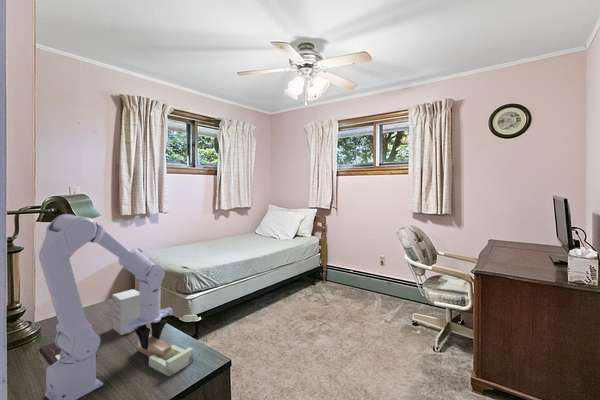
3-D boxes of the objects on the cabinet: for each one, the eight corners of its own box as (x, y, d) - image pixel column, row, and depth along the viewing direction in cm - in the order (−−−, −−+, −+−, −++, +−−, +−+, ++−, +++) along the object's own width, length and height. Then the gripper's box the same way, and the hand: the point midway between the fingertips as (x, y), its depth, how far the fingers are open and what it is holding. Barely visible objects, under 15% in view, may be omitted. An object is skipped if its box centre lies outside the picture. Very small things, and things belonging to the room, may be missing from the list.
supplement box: (134, 321, 110) (134, 288, 110) (143, 328, 106) (143, 293, 105) (112, 328, 105) (111, 293, 104) (120, 336, 100) (120, 299, 99)
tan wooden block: (162, 364, 86) (162, 350, 85) (137, 350, 92) (137, 337, 91) (171, 358, 88) (171, 346, 88) (146, 345, 94) (146, 333, 94)
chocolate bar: (74, 335, 98) (97, 355, 88) (74, 338, 99) (97, 358, 88) (39, 347, 91) (59, 370, 81) (39, 350, 91) (59, 373, 81)
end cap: (169, 376, 80) (169, 362, 80) (148, 365, 85) (148, 352, 84) (193, 361, 87) (193, 348, 87) (173, 352, 92) (173, 339, 91)
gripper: (134, 314, 82) (134, 361, 82) (179, 297, 94) (178, 338, 95) (120, 308, 85) (120, 353, 86) (164, 292, 98) (164, 332, 99)
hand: (150, 345), depth 91 cm, fingers closed on tan wooden block, 3 cm apart
